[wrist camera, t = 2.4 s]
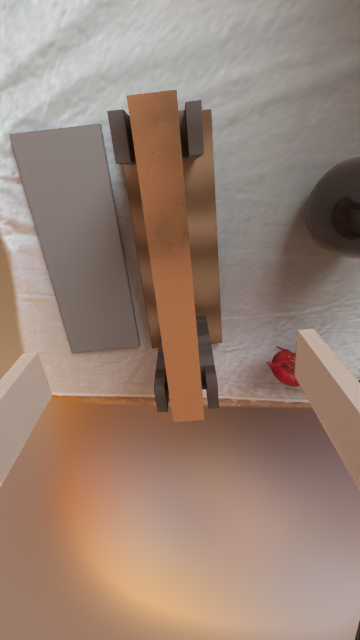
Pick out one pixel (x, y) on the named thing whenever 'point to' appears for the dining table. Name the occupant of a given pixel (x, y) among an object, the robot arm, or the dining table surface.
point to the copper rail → (168, 244)
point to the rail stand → (201, 238)
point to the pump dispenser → (337, 210)
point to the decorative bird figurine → (284, 367)
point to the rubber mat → (79, 233)
